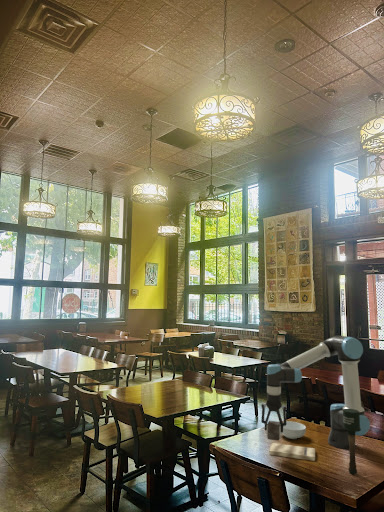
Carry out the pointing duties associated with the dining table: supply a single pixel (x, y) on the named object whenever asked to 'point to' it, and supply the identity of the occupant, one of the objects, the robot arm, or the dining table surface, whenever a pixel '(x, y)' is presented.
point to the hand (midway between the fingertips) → (273, 437)
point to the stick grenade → (351, 434)
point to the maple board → (292, 451)
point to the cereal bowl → (293, 430)
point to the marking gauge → (273, 430)
